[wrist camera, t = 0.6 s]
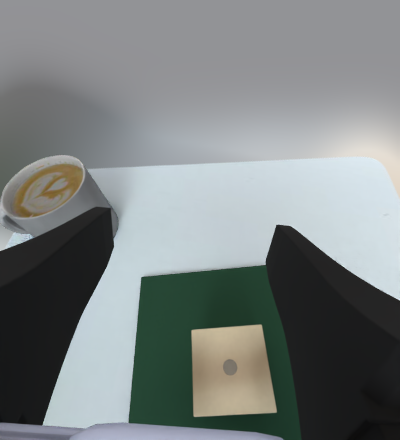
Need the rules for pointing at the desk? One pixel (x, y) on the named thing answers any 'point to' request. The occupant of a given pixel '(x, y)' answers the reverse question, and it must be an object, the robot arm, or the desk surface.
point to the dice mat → (182, 348)
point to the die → (231, 372)
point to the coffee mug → (50, 196)
